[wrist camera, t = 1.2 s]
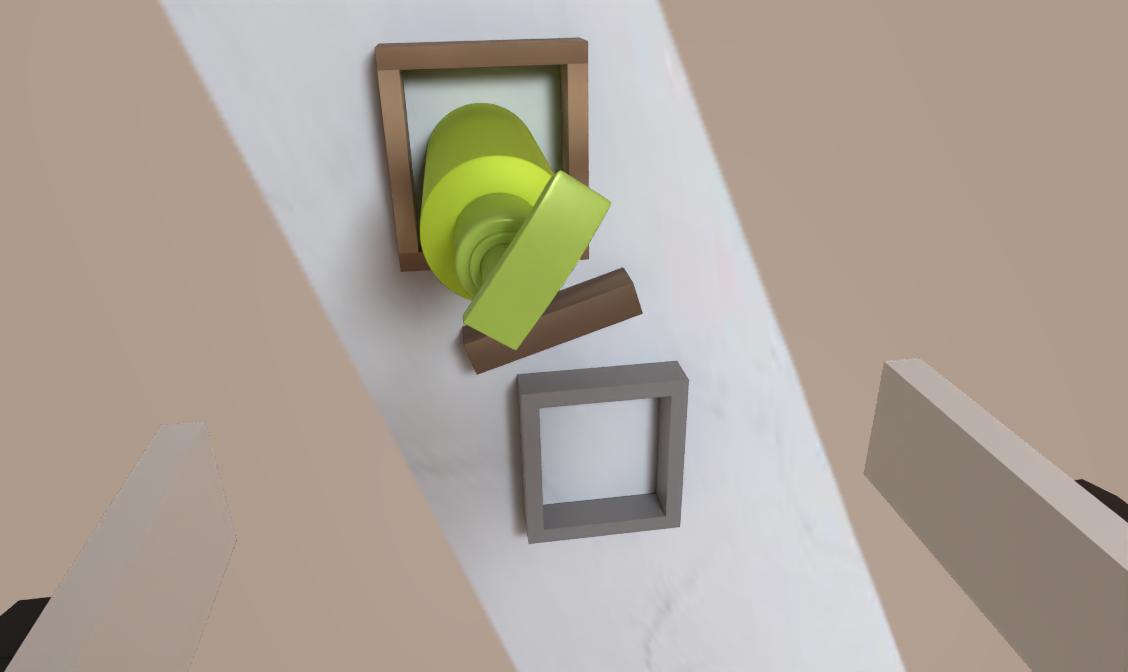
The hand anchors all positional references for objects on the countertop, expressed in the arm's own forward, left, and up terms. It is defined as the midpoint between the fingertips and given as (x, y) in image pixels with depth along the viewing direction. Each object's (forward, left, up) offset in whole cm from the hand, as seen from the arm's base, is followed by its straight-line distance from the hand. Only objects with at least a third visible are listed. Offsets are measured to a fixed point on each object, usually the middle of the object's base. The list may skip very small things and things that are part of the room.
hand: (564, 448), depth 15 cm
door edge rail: (+9, +3, -28) cm, 30 cm away
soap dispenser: (0, 0, -28) cm, 29 cm away
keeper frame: (+19, +6, -28) cm, 35 cm away
